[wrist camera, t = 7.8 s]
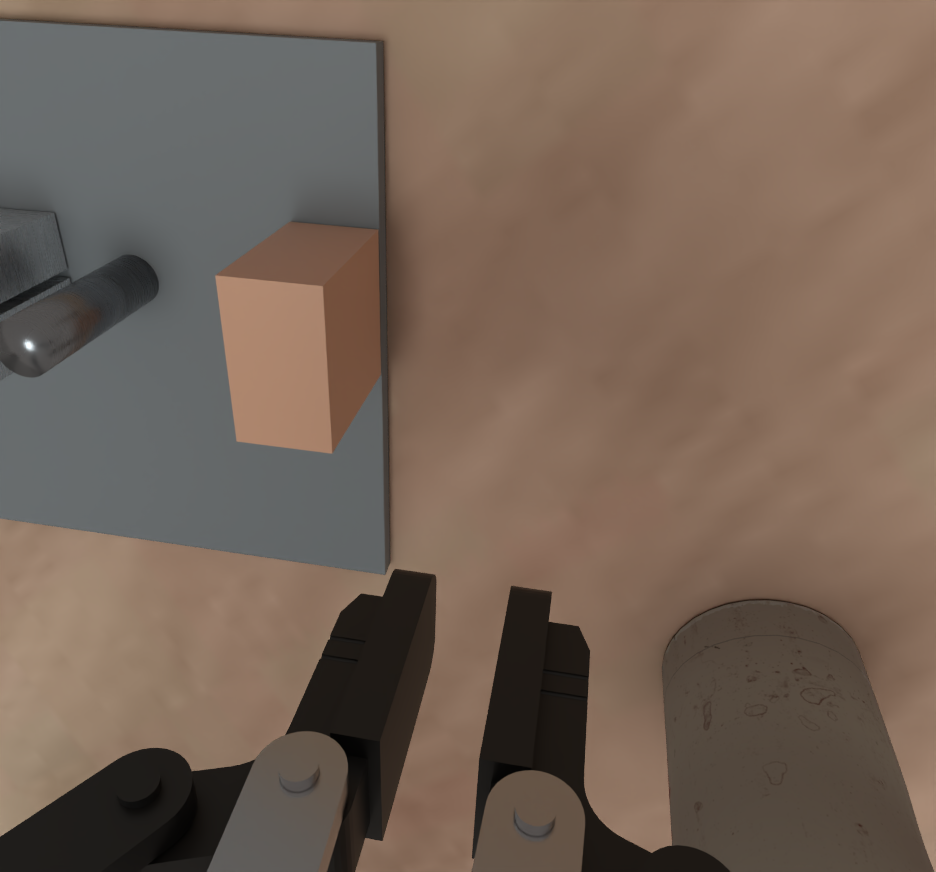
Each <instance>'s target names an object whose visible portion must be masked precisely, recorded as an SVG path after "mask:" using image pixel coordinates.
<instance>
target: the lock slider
mask: <svg viewBox="0 0 936 872" xmlns="http://www.w3.org/2000/svg"><path fill="white" fill-rule="evenodd" d="M215 278H216V286H217V293H218V301H219V309H220V317H221V324H222V332H223V340H224V348H225V355H226V363H227V371H228V379H229V386H230V394H231V402H232V410H233V418H234V425H235V433H236V441H237V442H245V443H253V444H260V445H268V446H276V447H284V448H292V449H299V450H307V451H315V452H323V453H331V454H332V453H333V452H334V450H335V448H336V447H337V445H338V444H339V442H340V440H341V439H342V437H343V435H344V434H345V432H346V430H347V429H348V427H349V426H350V424H351V422H352V421H353V419H354V417H355V416H356V414H357V413H358V411H359V409H360V408H361V406H362V404H363V403H364V401H365V400H366V398H367V396H368V395H369V393H370V391H371V390H372V388H373V387H374V385H375V383H376V382H377V380H378V378H379V377H380V375H381V347H380V291H379V235H378V230H377V229H366V228H355V227H344V226H333V225H322V224H310V223H299V222H288V223H287V224H286V225H284V226H283V227H282V228H280V229H279V230H277V231H276V232H275V233H273V234H272V235H270V236H269V237H268V238H266V239H265V240H264V241H262V242H261V243H259V244H258V245H257V246H255V247H254V248H252V249H251V250H250V251H248V252H247V253H246V254H244V255H243V256H241V257H240V258H239V259H237V260H236V261H234V262H233V263H232V264H230V265H229V266H228V267H226V268H225V269H223V270H222V271H221V272H219V273H218V274H216V275H215Z"/></svg>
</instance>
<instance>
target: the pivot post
mask: <svg viewBox="0 0 936 872" xmlns="http://www.w3.org/2000/svg"><path fill="white" fill-rule="evenodd" d="M158 290H159V281H158V278H157V275H156V273H155V271H154V269H153V268H152V267H151V266H150V265H149V264H148V263H147V262H146V261H145V260H143V259H142V258H140V257H138V256H135V255H122V256H120V257H118V258H116V259H114V260H112V261H111V262H109V263H107V264H105V265H103V266H101V267H100V268H98V269H96V270H94V271H92V272H91V273H89V274H87V275H85V276H83V277H81V278H80V279H78V280H76V281H74V282H72V283H70V284H69V285H67V286H65V287H63V288H61V289H59V290H58V291H56V292H54V293H52V294H50V295H48V296H47V297H45V298H43V299H41V300H39V301H38V302H36V303H34V304H32V305H30V306H28V307H27V308H25V309H23V310H21V311H19V312H17V313H16V314H14V315H12V316H10V317H8V318H6V319H5V320H3V321H1V322H0V361H1V362H2V364H3V365H5V366H6V367H7V368H8V369H9V370H11V371H12V372H14V373H16V374H18V375H20V376H24V377H29V378H34V377H39V376H41V375H43V374H44V373H46V372H47V371H49V370H50V369H52V368H53V367H55V366H56V365H57V364H59V363H60V362H62V361H63V360H65V359H66V358H68V357H69V356H71V355H72V354H74V353H75V352H77V351H78V350H80V349H81V348H83V347H84V346H86V345H87V344H88V343H90V342H91V341H93V340H94V339H96V338H97V337H99V336H100V335H102V334H103V333H105V332H106V331H108V330H109V329H111V328H112V327H114V326H115V325H116V324H118V323H119V322H121V321H122V320H124V319H125V318H127V317H128V316H130V315H131V314H133V313H134V312H136V311H137V310H139V309H140V308H142V307H143V306H145V305H146V304H147V303H149V302H150V301H152V300H153V299H154V298H155V297H156V296H157V294H158Z"/></svg>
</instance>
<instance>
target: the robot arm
mask: <svg viewBox="0 0 936 872" xmlns="http://www.w3.org/2000/svg"><path fill="white" fill-rule="evenodd" d="M551 596H552V592H550V591H543V590H536V589H530V588H523V587H516V586H511V590H510V595H509V600H508V606H507V611H506V616H505V622H504V627H503V633H502V638H501V644H500V649H499V655H498V660H497V665H496V671H495V676H494V682H493V687H492V693H491V698H490V704H489V709H488V714H487V720H486V725H485V731H484V736H483V742H482V747H481V753H480V758H479V770H478V784H477V797H476V811H475V824H474V838H473V851H472V858H473V859H474V863H473V868H472V872H730V870H729V869H728V868H727V867H725V866H724V865H723V864H722V863H721V862H720V861H719V860H717V859H716V858H715V857H713V856H711V855H710V854H708V853H706V852H704V851H702V850H699V849H697V848H693V847H689V846H681V845H674V846H667V847H664V848H660V849H658V850H657V851H655V852H653V853H650V852H649V851H647V850H645V849H643V848H641V847H639V846H637V845H635V844H633V843H631V842H629V841H627V840H625V839H624V838H622V837H620V836H619V835H617V834H615V833H614V832H613V831H611V830H610V829H609V828H608V827H606V826H605V825H604V824H603V823H602V821H601V820H600V819H599V818H598V817H597V815H596V814H595V813H594V811H593V810H592V808H591V806H590V804H589V802H588V799H587V797H586V793H585V788H584V763H585V743H586V722H587V698H588V677H589V659H590V650H589V648H588V645H587V643H586V641H585V639H584V637H583V635H582V632H581V630H580V628H579V626H573V625H566V624H559V623H553V622H549V613H550V604H551ZM435 616H436V576H435V575H434V574H427V573H420V572H413V571H406V570H399V569H395V570H394V571H393V573H392V575H391V577H390V580H389V583H388V585H387V588H386V590H385V593H384V595H383V597H380V596H374V595H367V594H360V595H359V596H358V597H357V598H356V599H355V600H354V601H352V602H351V603H350V604H349V605H348V606H347V607H346V608H345V609H344V610H343V611H341V613H340V615H339V617H338V619H337V622H336V624H335V626H334V628H333V631H332V633H331V635H330V640H328V642H327V644H326V646H325V649H324V651H323V653H322V658H321V659H320V660H319V662H318V664H317V666H316V669H315V671H314V673H313V675H312V678H311V680H310V682H309V684H308V687H307V689H306V691H305V693H304V696H303V698H302V700H301V702H300V705H299V707H298V709H297V711H296V714H295V716H294V718H293V720H292V722H291V725H290V727H289V729H288V731H287V732H286V734H285V736H282V737H280V738H278V739H276V740H274V741H273V742H271V743H270V744H269V745H267V746H266V747H265V748H264V749H263V750H262V751H261V752H260V754H259V755H258V756H257V758H256V759H255V760H253V761H250V762H248V763H244V764H241V765H237V766H231V767H224V768H216V769H208V770H200V771H191V769H190V766H189V764H188V763H187V761H186V760H185V759H184V758H183V757H182V756H181V755H180V754H178V753H176V752H174V751H171V750H168V749H162V748H148V749H142V750H138V751H135V752H132V753H130V754H127V755H125V756H123V757H121V758H119V759H118V760H116V761H114V762H113V763H111V764H110V765H108V766H107V767H105V768H104V769H102V770H101V771H99V772H98V773H96V774H95V775H93V776H92V777H90V778H89V779H87V780H86V781H84V782H83V783H81V784H80V785H78V786H77V787H75V788H74V789H72V790H70V791H69V792H67V793H66V794H64V795H63V796H61V797H60V798H58V799H57V800H55V801H54V802H52V803H51V804H49V805H48V806H46V807H45V808H43V809H42V810H40V811H39V812H37V813H36V814H34V815H33V816H31V817H30V818H28V819H27V820H25V821H24V822H22V823H21V824H19V825H17V826H16V827H14V828H13V829H11V830H10V831H8V832H7V833H5V834H4V835H2V836H1V837H0V872H355V870H356V867H357V863H358V860H359V857H360V853H361V850H362V847H363V843H364V840H365V838H369V839H374V840H380V841H383V837H384V834H385V830H386V827H387V823H388V819H389V816H390V812H391V809H392V805H393V801H394V798H395V794H396V791H397V787H398V784H399V780H400V776H401V773H402V769H403V766H404V762H405V758H406V755H407V751H408V748H409V744H410V741H411V737H412V733H413V730H414V726H415V723H416V719H417V715H418V712H419V708H420V705H421V701H422V697H423V694H424V690H425V687H426V683H427V680H428V676H429V672H430V668H431V663H432V658H433V651H434V643H435Z"/></svg>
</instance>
